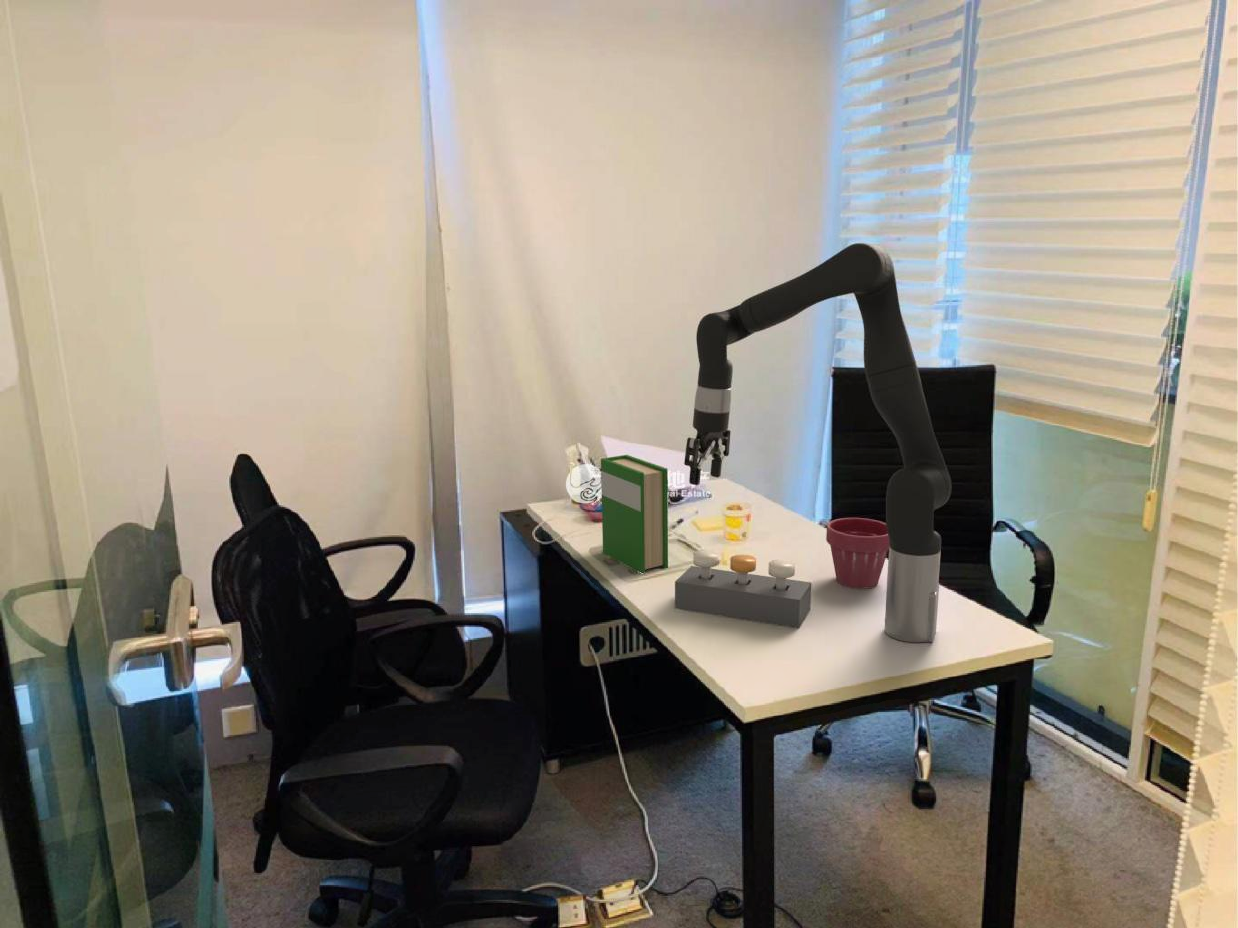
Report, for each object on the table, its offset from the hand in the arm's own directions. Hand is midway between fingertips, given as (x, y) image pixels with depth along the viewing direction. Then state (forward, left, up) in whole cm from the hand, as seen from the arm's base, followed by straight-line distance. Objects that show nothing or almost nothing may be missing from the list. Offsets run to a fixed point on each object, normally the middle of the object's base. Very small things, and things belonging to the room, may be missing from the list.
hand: (704, 480), depth 190 cm
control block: (-12, +10, -24) cm, 29 cm away
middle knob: (-12, +10, -20) cm, 25 cm away
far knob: (-4, +10, -20) cm, 23 cm away
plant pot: (-31, -15, -24) cm, 42 cm away
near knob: (-20, +10, -20) cm, 30 cm away
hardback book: (+21, -9, -24) cm, 33 cm away
